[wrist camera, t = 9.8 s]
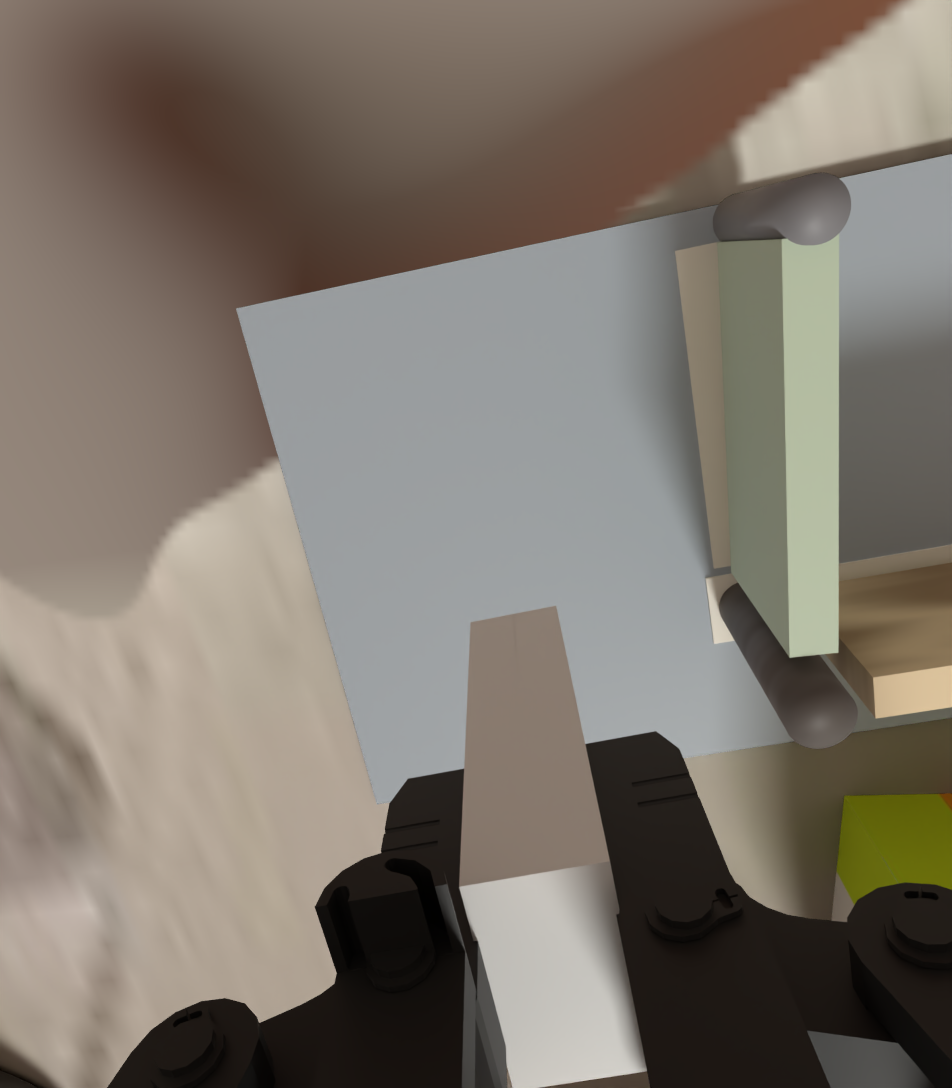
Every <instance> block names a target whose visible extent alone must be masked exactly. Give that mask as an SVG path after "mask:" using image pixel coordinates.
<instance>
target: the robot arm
mask: <svg viewBox="0 0 952 1088" xmlns="http://www.w3.org/2000/svg"><path fill="white" fill-rule="evenodd" d="M385 833H386V834H384V837H383V842H382V848H381V852H382V853H381V854H377V855H374V856H371V857H367V858H364V859H362V860H361V861H359V862H357V863H355V864H354V865H352V866H350V867H348V868H347V869H345V870H343V871H342V872H341V873H340V874H339V875H338V876H336V877H335V878H334V879H333V880H332V881H331V882H330V883H329V884H328V885H327V886H326V887H325V888H324V890H323V892H322V894H321V896H320V898H319V900H318V902H317V904H316V906H315V909H316V912H317V915H318V918H319V921H320V924H321V927H322V930H323V933H324V936H325V939H326V942H327V945H328V948H329V951H330V954H331V957H332V960H333V963H334V966H335V969H336V972H337V975H336V980H335V984H334V985H332V986H331V987H330V988H328V989H327V990H326V991H325V992H323V993H322V994H321V995H319V996H317V997H315V998H313V999H311V1000H309V1001H308V1002H306V1003H304V1004H302V1005H300V1006H297V1007H295V1008H293V1009H291V1010H288V1011H286V1012H284V1013H282V1014H279V1015H277V1016H275V1017H272V1018H270V1019H268V1020H266V1021H263V1022H261V1023H259V1022H258V1019H257V1017H256V1016H255V1014H254V1013H253V1012H252V1011H251V1010H250V1009H249V1008H248V1007H247V1006H246V1004H245V1003H241V1002H237V1001H233V1000H230V999H226V998H224V999H216V1000H209V1001H201V1002H199V1003H197V1004H194V1005H192V1006H190V1007H187V1008H185V1009H183V1010H180V1011H178V1012H175V1013H174V1014H173V1015H171V1016H170V1017H169V1018H167V1019H166V1020H164V1021H163V1022H162V1023H160V1024H159V1025H158V1026H156V1027H155V1028H153V1029H152V1030H151V1031H150V1032H149V1033H148V1034H147V1035H146V1037H145V1038H144V1039H143V1040H142V1041H141V1042H140V1043H139V1045H138V1046H137V1047H136V1048H135V1049H134V1050H133V1051H132V1052H131V1054H130V1055H129V1057H128V1058H127V1060H126V1061H125V1063H124V1064H123V1065H122V1067H121V1068H120V1070H119V1071H118V1073H117V1074H116V1076H115V1077H114V1079H113V1080H112V1082H111V1083H110V1084H109V1086H108V1087H107V1088H507V1068H508V1072H509V1076H510V1079H511V1083H512V1087H513V1088H540V1087H546V1086H553V1085H560V1084H566V1083H573V1082H580V1081H586V1080H593V1079H599V1078H606V1077H613V1076H619V1075H626V1074H632V1073H639V1072H646V1071H647V1072H648V1077H649V1082H650V1087H651V1088H952V890H951V889H948V888H945V887H942V886H939V885H935V884H921V883H907V882H904V883H899V884H894V885H889V886H884V887H879V888H876V889H875V890H873V891H871V892H870V893H868V894H866V895H865V896H863V897H861V898H860V899H858V900H857V902H856V903H855V905H854V907H853V908H852V910H851V912H850V913H849V915H848V917H847V922H840V921H829V920H818V919H808V918H802V917H797V916H791V915H786V914H783V913H781V912H778V911H775V910H772V909H769V908H767V907H765V906H763V905H762V904H760V903H758V902H757V901H755V900H753V899H752V898H750V897H749V896H748V895H747V894H746V892H745V891H744V890H743V888H742V887H741V886H740V885H738V884H736V883H735V881H734V879H733V878H732V876H731V874H730V873H729V870H728V868H727V865H726V863H725V860H724V858H723V855H722V853H721V850H720V848H719V845H718V843H717V840H716V838H715V836H714V833H713V831H712V828H711V826H710V823H709V821H708V818H707V816H706V813H705V811H704V808H703V806H702V803H701V801H700V799H699V797H698V795H697V791H696V789H695V786H694V784H693V781H692V779H691V777H690V775H689V771H688V769H687V766H686V764H685V761H684V759H683V757H682V754H681V752H680V749H679V748H678V747H676V746H675V745H674V744H672V743H671V742H670V741H669V740H667V739H666V738H665V737H663V736H662V735H661V734H659V733H658V732H657V731H654V732H648V733H643V734H637V735H632V736H626V737H621V738H615V739H610V740H604V741H599V742H593V743H588V744H585V740H584V736H583V731H582V726H581V721H580V717H579V712H578V707H577V702H576V698H575V693H574V688H573V683H572V679H571V674H570V669H569V664H568V660H567V655H566V650H565V645H564V641H563V636H562V631H561V626H560V622H559V617H558V612H557V607H556V606H552V607H546V608H541V609H536V610H531V611H526V612H521V613H516V614H510V615H505V616H500V617H495V618H490V619H485V620H480V621H474V622H470V645H469V669H468V692H467V715H466V739H465V762H464V769H459V770H453V771H448V772H442V773H437V774H431V775H426V776H420V777H415V778H409V779H407V781H406V782H405V783H404V785H403V786H402V787H401V789H400V790H399V791H398V793H397V794H396V795H395V797H394V798H393V799H392V801H391V802H390V804H389V809H388V815H387V820H386V826H385ZM506 1064H507V1068H506ZM0 1088H37V1087H35V1086H33V1085H31V1084H29V1083H28V1082H25V1081H23V1080H21V1079H19V1078H17V1077H15V1076H12V1075H10V1074H8V1073H5V1072H3V1071H0Z"/></svg>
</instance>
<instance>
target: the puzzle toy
mask: <svg viewBox="0 0 952 1088" xmlns="http://www.w3.org/2000/svg"><path fill="white" fill-rule="evenodd" d="M904 882H907V883H921V884H935V885H939V886H942V887H945V888H948V889H951V890H952V793H948V794H901V795H854V796H844V803H843V813H842V822H841V832H840V842H839V852H838V861H837V871H836V881H835V890H834V900H833V910H832V919H831V921H840V922H847V917H848V915H849V913H850V912H851V910H852V908H853V907H854V905H855V903H856V902H857V900H858V899H860V898H861V897H863V896H865V895H866V894H868V893H870V892H871V891H873V890H875V889H876V888H879V887H884V886H889V885H894V884H899V883H904Z"/></svg>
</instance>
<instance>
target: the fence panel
mask: <svg viewBox="0 0 952 1088" xmlns="http://www.w3.org/2000/svg"><path fill="white" fill-rule="evenodd" d="M850 211H851V197H850V194H849V191H848V189H847V187H846V185H845V184H844V183H843V182H842V181H841V180H840V179H839V178H838V177H836V176H834V175H831V174H828V173H814V174H810V175H806V176H802V177H798V178H795V179H791V180H787V181H783V182H779V183H775V184H771V185H768V186H764V187H760V188H756V189H752V190H748V191H745V192H741V193H737V194H733V195H731V196H729V197H727V198H725V199H724V200H723V201H722V202H721V203H720V204H719V205H718V207H717V209H716V210H715V213H714V216H713V229H714V232H715V235H716V236H717V238H718V239H719V240H720V241H721V242H717V250H718V274H719V298H720V322H721V345H722V369H723V393H724V416H725V440H726V464H727V488H728V511H729V535H730V559H731V573H732V575H733V576H734V577H735V579H736V580H737V582H738V583H739V585H740V586H741V588H742V589H743V591H744V592H745V593H746V595H747V596H748V598H749V599H750V601H751V602H752V604H753V605H754V607H755V608H756V609H757V611H758V612H759V614H760V615H761V617H762V618H763V620H764V621H765V623H766V624H767V625H768V627H769V628H770V630H771V631H772V633H773V634H774V636H775V637H776V639H777V640H778V641H779V643H780V644H781V646H782V647H783V649H784V650H785V652H786V653H787V655H788V656H789V658H792V657H801V656H811V655H821V654H831V653H838V646H839V233H840V232H841V231H842V229H843V228H844V226H845V225H846V223H847V221H848V219H849V216H850Z"/></svg>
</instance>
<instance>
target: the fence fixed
mask: <svg viewBox="0 0 952 1088" xmlns="http://www.w3.org/2000/svg"><path fill="white" fill-rule="evenodd" d="M719 612H720V615H721V618H722V619H723V621H724V623H725V625H726V626H727V628H728V630H729V632H730V633H731V635H732V637H733V639H734V640H735V642H736V644H737V646H738V647H739V649H740V651H741V653H742V654H743V656H744V658H745V659H746V661H747V663H748V665H749V666H750V668H751V670H752V672H753V673H754V675H755V677H756V679H757V680H758V682H759V684H760V686H761V687H762V689H763V691H764V692H765V694H766V696H767V698H768V699H769V701H770V703H771V705H772V706H773V708H774V710H775V712H776V713H777V715H778V717H779V719H780V720H781V722H782V724H783V726H784V727H785V729H786V731H787V732H788V734H789V736H790V737H791V738H792V739H793V740H794V741H795V742H796V743H798V744H800V745H802V746H804V747H808V748H813V749H821V748H828V747H831V746H834V745H836V744H838V743H840V742H842V741H843V740H844V739H846V738H847V737H848V736H849V735H850V733H851V732H852V731H853V729H854V727H855V725H856V723H857V719H858V709H857V705H856V703H855V701H854V699H853V698H852V697H851V695H850V694H849V693H848V691H847V690H846V689H845V688H844V686H843V685H842V684H841V682H840V681H839V680H838V678H837V677H836V676H835V674H834V673H833V672H832V671H831V669H830V668H829V667H828V665H827V664H826V663H825V661H824V660H823V659H822V657H821V656H820V655H811V656H801V657H792V658H789V656H788V655H787V653H786V652H785V650H784V649H783V647H782V646H781V644H780V643H779V641H778V640H777V639H776V637H775V636H774V634H773V633H772V631H771V630H770V628H769V627H768V625H767V624H766V623H765V621H764V620H763V618H762V617H761V615H760V614H759V612H758V611H757V609H756V608H755V607H754V605H753V604H752V602H751V601H750V599H749V598H748V596H747V595H746V593H745V592H744V591H743V589H742V588H741V586H740V585H739V583H736V584H734V585H732V586H731V587H729V588H728V589H727V590H726V591H725V592H724V594H723V595H722V597H721V600H720V603H719ZM826 656H827V657H828V658H829V660H830V661H831V662H832V663H833V665H834V666H835V667H836V669H837V670H838V671H839V672H840V674H841V675H842V676H843V677H844V679H845V680H846V681H847V683H848V684H849V685H850V686H851V688H852V689H853V690H854V692H855V693H856V694H857V695H858V697H859V698H860V699H861V701H862V702H863V703H864V704H865V706H866V707H867V708H868V709H869V711H870V712H871V713H872V715H873V716H874V717H875V718H876V719H877V718H883V717H890V716H897V715H903V714H910V713H916V712H923V711H930V710H936V709H943V708H949V707H952V563H946V564H940V565H934V566H928V567H922V568H916V569H910V570H904V571H898V572H892V573H886V574H880V575H874V576H868V577H862V578H857V579H851V580H845V581H839V646H838V653H831V654H826Z"/></svg>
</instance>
